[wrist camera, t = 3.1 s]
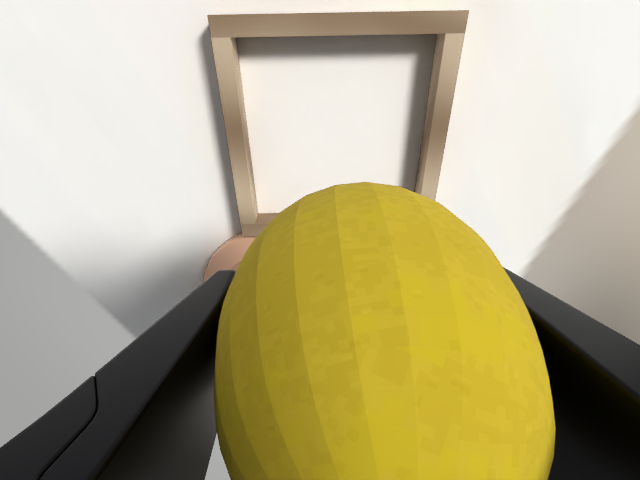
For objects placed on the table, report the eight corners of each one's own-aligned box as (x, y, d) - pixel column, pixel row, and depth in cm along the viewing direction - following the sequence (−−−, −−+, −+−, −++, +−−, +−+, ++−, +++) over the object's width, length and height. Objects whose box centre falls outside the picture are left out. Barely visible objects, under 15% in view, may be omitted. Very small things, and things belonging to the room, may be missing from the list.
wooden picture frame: (423, 222, 21) (429, 233, 20) (246, 225, 21) (242, 236, 20) (459, 10, 15) (469, 10, 14) (214, 14, 15) (207, 15, 14)
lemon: (227, 265, 11) (83, 675, 4) (303, 92, 8) (243, 463, 1) (381, 320, 12) (460, 698, 6) (489, 188, 10) (896, 608, 3)
